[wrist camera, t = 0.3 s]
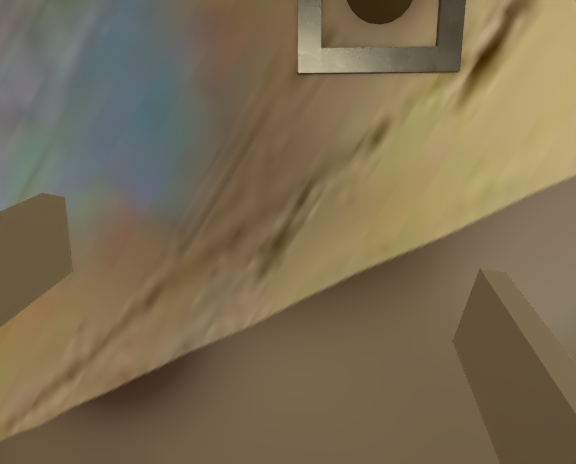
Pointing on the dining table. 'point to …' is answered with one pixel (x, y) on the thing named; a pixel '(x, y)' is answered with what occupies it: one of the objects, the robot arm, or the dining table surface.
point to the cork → (379, 9)
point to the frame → (380, 58)
